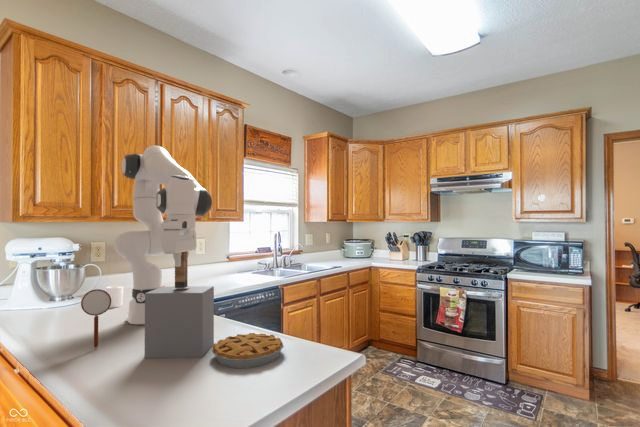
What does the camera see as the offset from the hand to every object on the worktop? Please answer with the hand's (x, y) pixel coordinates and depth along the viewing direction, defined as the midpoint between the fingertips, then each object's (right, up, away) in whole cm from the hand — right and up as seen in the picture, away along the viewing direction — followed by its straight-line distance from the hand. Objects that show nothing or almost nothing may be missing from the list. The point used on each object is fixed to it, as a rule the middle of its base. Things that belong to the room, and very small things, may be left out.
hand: (181, 265), depth 118 cm
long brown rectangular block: (0, -7, 0) cm, 7 cm away
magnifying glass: (-29, -28, +1) cm, 40 cm away
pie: (+23, -28, -6) cm, 37 cm away
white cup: (-59, -31, +65) cm, 93 cm away
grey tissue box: (0, -28, -1) cm, 28 cm away
